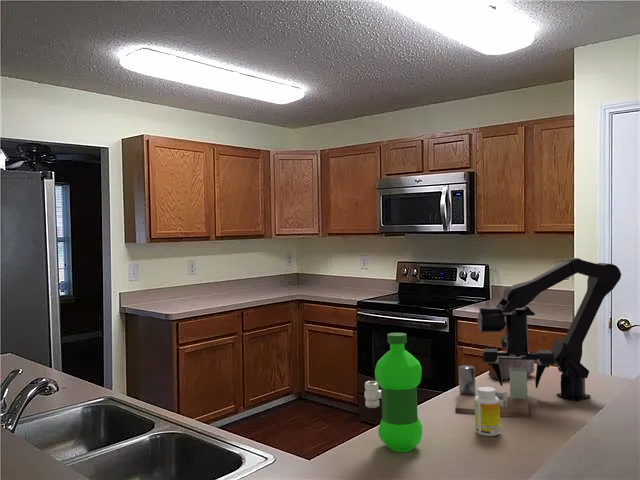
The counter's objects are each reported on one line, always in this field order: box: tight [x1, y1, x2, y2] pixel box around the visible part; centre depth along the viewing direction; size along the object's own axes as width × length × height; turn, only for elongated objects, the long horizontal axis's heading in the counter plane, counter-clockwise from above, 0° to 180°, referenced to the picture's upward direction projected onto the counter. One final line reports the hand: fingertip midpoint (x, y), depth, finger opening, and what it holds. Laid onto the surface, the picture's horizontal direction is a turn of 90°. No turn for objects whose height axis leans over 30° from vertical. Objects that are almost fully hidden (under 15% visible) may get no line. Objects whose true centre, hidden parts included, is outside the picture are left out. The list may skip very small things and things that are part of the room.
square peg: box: [509, 367, 529, 401], centre depth 154 cm, size 4×4×8 cm
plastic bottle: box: [374, 332, 423, 453], centre depth 120 cm, size 10×10×25 cm
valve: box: [363, 380, 382, 409], centre depth 151 cm, size 7×7×12 cm
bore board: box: [454, 390, 530, 418], centre depth 146 cm, size 18×12×3 cm, turn 71°
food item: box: [488, 348, 535, 381], centre depth 177 cm, size 14×8×10 cm, turn 113°
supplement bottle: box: [474, 386, 501, 437], centre depth 128 cm, size 6×6×10 cm
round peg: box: [458, 364, 477, 396], centre depth 158 cm, size 4×4×8 cm
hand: (518, 386), depth 154 cm, fingers open, 9 cm apart
